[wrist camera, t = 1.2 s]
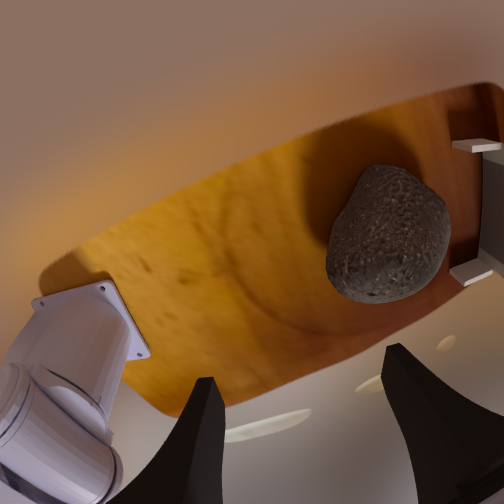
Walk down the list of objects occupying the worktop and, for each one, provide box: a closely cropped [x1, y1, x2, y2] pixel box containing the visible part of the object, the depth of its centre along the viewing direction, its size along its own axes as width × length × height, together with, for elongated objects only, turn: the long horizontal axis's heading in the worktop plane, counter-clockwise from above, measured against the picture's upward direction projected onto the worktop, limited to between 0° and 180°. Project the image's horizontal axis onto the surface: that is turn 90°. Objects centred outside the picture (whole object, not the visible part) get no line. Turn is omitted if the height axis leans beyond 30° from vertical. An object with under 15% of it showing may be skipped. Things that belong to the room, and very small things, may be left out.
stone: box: [326, 164, 451, 304], centre depth 19 cm, size 10×8×10 cm
